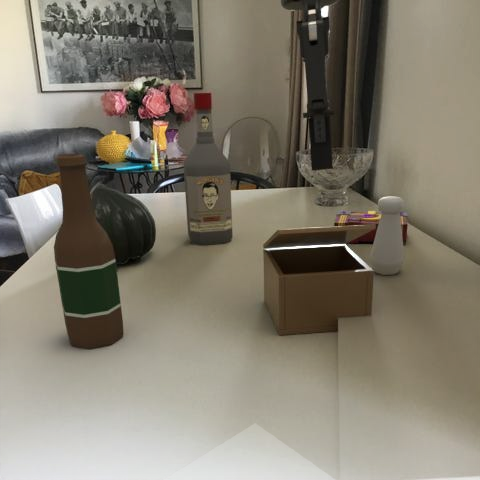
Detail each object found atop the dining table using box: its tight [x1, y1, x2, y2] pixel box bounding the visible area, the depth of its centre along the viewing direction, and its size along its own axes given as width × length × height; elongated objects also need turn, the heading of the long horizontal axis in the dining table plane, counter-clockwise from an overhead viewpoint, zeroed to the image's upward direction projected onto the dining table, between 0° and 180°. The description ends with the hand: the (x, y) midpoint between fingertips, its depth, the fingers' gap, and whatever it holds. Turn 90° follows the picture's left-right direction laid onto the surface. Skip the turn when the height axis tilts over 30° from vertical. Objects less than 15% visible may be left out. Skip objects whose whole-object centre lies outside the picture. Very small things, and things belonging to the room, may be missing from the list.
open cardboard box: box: [262, 244, 375, 336], centre depth 81 cm, size 14×13×8 cm
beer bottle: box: [53, 153, 125, 350], centre depth 72 cm, size 8×8×24 cm
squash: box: [90, 186, 157, 265], centre depth 110 cm, size 14×15×15 cm
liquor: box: [183, 92, 234, 246], centre depth 119 cm, size 9×9×30 cm
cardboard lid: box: [262, 224, 376, 249], centre depth 78 cm, size 14×13×1 cm
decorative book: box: [333, 210, 409, 244], centre depth 121 cm, size 11×16×5 cm
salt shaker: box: [369, 195, 405, 276], centre depth 97 cm, size 6×6×13 cm
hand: (322, 169), depth 75 cm, fingers closed
